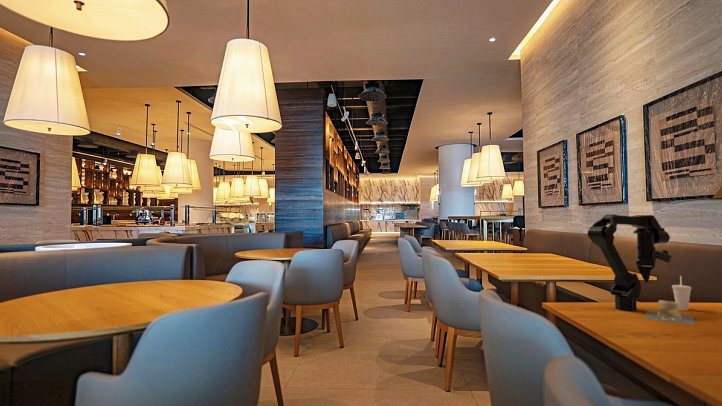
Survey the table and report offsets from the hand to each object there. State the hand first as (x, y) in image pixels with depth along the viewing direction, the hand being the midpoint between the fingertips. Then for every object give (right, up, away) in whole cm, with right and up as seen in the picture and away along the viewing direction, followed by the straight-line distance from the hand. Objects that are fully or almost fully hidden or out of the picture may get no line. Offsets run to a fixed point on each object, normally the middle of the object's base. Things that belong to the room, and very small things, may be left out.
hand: (647, 280), depth 158 cm
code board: (-4, -11, -16) cm, 20 cm away
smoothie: (+14, -12, -1) cm, 19 cm away
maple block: (-2, -11, -14) cm, 17 cm away
